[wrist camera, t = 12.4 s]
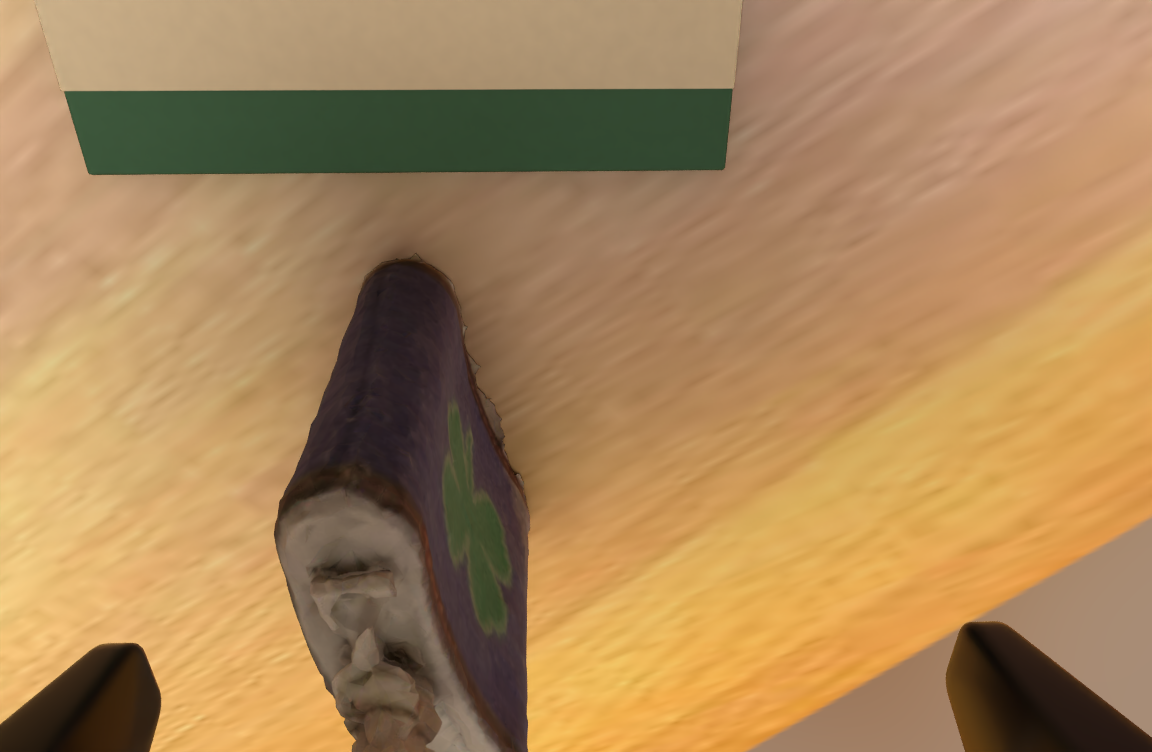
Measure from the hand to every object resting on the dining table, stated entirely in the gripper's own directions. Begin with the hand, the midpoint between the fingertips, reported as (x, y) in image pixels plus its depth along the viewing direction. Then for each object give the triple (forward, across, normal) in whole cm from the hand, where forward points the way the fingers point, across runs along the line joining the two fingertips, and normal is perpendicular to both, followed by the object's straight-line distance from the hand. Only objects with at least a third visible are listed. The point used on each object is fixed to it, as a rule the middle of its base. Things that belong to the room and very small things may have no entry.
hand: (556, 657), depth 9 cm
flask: (+13, +3, +5) cm, 14 cm away
